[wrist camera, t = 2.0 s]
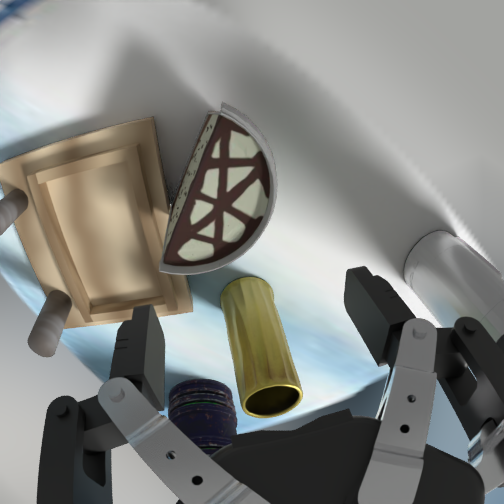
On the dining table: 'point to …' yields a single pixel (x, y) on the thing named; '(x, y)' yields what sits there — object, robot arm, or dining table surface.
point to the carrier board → (93, 228)
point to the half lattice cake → (220, 196)
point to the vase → (259, 349)
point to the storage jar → (203, 413)
